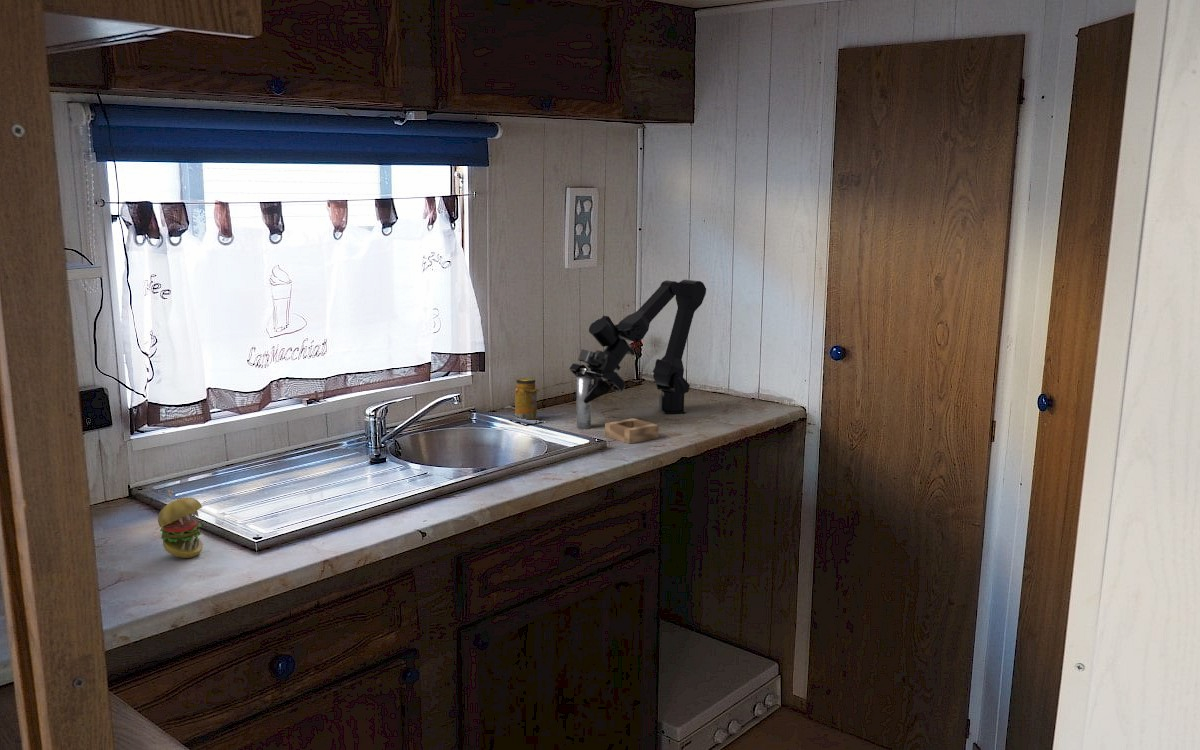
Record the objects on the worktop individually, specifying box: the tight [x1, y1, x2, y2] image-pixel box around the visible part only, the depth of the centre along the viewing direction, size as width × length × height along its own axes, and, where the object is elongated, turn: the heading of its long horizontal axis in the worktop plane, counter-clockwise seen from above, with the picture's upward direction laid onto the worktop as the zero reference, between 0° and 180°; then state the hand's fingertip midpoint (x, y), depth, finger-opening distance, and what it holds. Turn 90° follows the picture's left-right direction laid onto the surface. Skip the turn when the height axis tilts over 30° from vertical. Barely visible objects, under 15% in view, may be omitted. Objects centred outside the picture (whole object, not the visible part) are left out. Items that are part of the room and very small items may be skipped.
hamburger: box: [157, 489, 204, 559], centre depth 182 cm, size 8×7×12 cm
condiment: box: [514, 377, 546, 423], centre depth 286 cm, size 7×8×12 cm
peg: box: [575, 376, 592, 430], centre depth 280 cm, size 4×4×14 cm
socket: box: [604, 417, 659, 445], centre depth 271 cm, size 10×10×4 cm
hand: (579, 401), depth 279 cm, fingers closed on peg, 4 cm apart
